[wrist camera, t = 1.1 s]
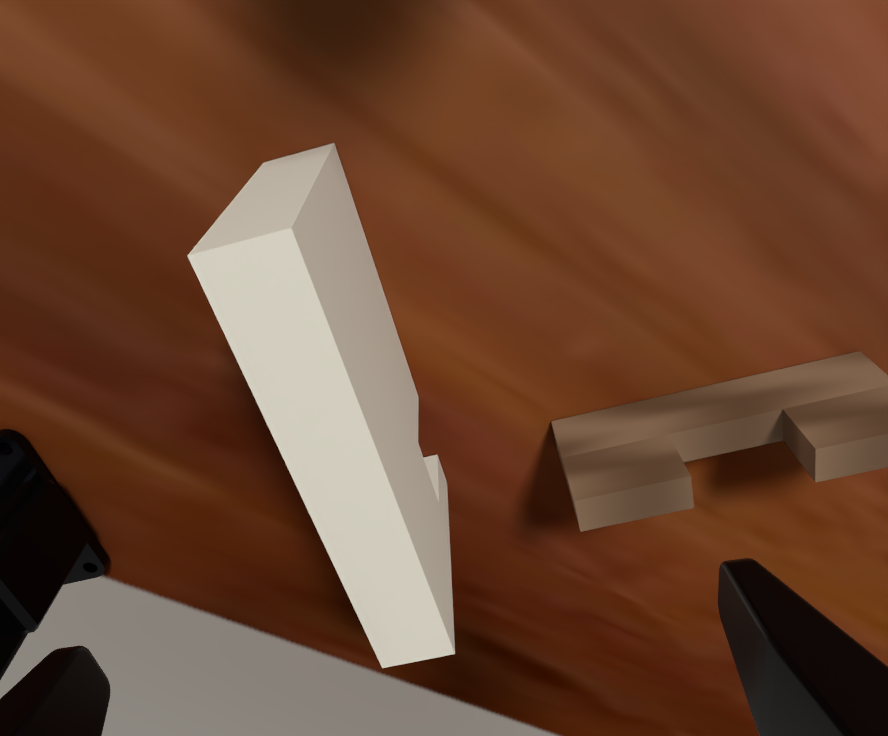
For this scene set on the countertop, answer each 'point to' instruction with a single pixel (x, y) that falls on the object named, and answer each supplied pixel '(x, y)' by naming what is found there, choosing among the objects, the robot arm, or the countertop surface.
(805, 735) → the robot arm
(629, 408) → the brown wooden flat piece
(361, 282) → the cream plate
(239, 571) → the countertop surface
